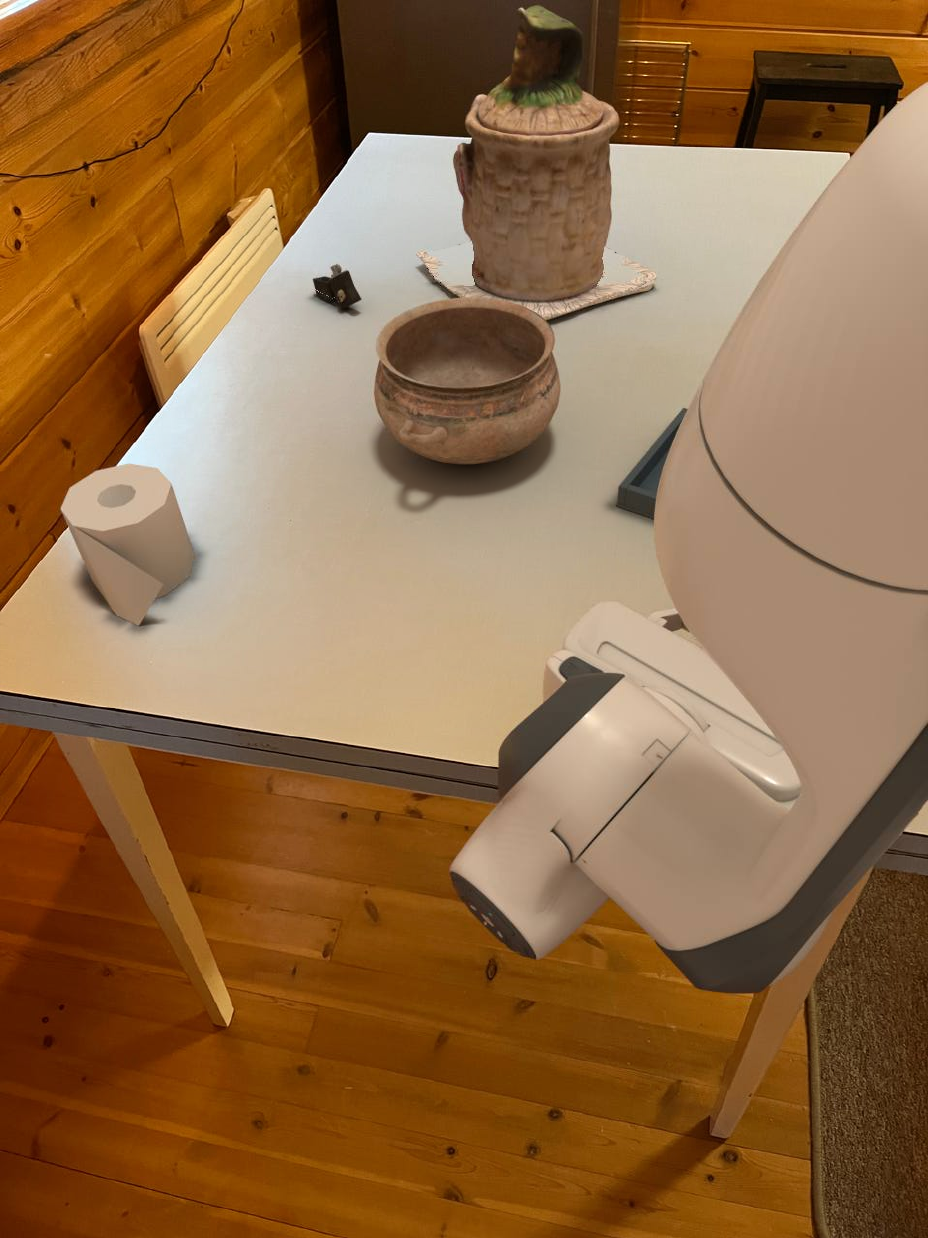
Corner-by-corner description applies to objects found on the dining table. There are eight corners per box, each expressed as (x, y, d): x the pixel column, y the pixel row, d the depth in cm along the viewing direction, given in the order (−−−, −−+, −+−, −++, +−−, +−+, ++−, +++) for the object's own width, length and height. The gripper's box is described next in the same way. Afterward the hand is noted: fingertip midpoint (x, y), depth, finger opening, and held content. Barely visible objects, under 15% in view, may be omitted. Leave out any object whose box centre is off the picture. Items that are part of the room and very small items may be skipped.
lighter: (323, 318, 125) (305, 281, 123) (335, 313, 126) (317, 276, 124) (349, 304, 118) (331, 264, 116) (362, 299, 119) (344, 259, 117)
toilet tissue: (135, 642, 80) (104, 569, 74) (79, 562, 88) (47, 490, 82) (229, 596, 84) (206, 522, 78) (167, 523, 92) (142, 451, 86)
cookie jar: (663, 288, 122) (698, 3, 99) (505, 341, 114) (503, 44, 91) (557, 224, 137) (566, -35, 114) (411, 267, 129) (389, -3, 106)
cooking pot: (505, 536, 88) (505, 427, 80) (334, 490, 94) (316, 385, 86) (591, 401, 104) (599, 298, 95) (440, 369, 110) (433, 270, 101)
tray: (824, 470, 94) (830, 449, 92) (771, 559, 85) (777, 538, 83) (680, 427, 100) (683, 407, 98) (616, 506, 91) (618, 485, 89)
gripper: (797, 814, 54) (900, 678, 61) (528, 648, 64) (643, 547, 71) (775, 869, 59) (874, 736, 66) (527, 705, 69) (635, 605, 76)
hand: (752, 636), depth 69 cm, fingers open, 8 cm apart
